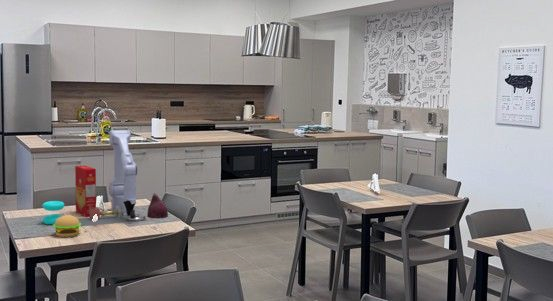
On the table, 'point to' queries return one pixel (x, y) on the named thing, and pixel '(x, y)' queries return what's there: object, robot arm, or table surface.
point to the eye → (119, 212)
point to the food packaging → (85, 189)
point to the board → (104, 220)
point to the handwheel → (135, 216)
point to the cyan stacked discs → (52, 207)
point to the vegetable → (157, 208)
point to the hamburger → (67, 226)
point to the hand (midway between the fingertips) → (129, 215)
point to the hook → (97, 211)
